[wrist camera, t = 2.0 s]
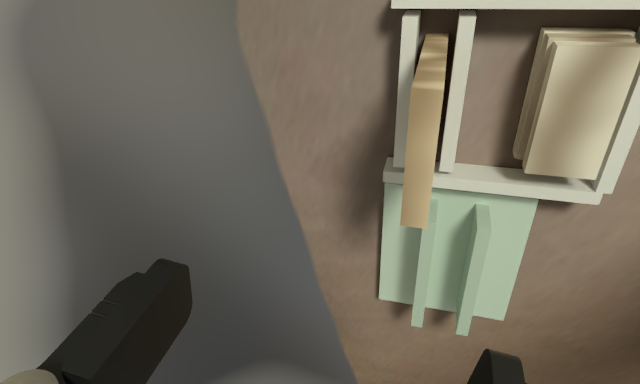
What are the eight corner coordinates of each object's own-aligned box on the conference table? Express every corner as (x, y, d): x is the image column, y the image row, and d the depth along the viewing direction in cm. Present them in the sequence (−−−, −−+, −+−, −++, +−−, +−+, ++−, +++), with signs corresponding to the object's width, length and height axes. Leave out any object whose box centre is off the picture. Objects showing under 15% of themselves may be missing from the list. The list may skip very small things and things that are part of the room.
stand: (536, 192, 33) (546, 226, 30) (502, 312, 41) (506, 351, 37) (386, 177, 36) (378, 205, 33) (380, 291, 44) (373, 325, 40)
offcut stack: (629, 28, 26) (650, 42, 23) (585, 156, 31) (598, 181, 28) (541, 27, 27) (551, 40, 24) (512, 150, 32) (517, 173, 29)
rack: (674, -17, 24) (693, -11, 22) (597, 187, 32) (606, 205, 30) (396, -14, 28) (391, -9, 26) (386, 167, 36) (382, 181, 34)
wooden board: (448, 33, 29) (443, 91, 19) (436, 138, 33) (426, 229, 24) (426, 33, 29) (410, 89, 20) (416, 137, 34) (400, 225, 24)
